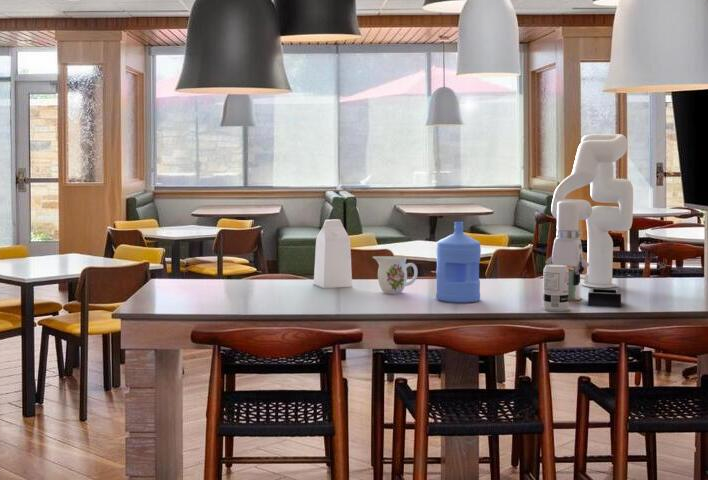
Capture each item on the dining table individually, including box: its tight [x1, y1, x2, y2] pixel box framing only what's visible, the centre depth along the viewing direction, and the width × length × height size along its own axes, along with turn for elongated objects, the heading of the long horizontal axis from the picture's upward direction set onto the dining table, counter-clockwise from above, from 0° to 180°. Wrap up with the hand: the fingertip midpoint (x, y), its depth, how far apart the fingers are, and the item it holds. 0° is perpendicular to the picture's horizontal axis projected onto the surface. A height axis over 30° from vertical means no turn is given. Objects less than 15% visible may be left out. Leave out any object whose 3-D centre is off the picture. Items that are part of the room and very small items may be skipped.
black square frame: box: [587, 287, 622, 308], centre depth 340 cm, size 11×11×5 cm
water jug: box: [435, 221, 482, 304], centre depth 348 cm, size 16×16×28 cm
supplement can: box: [542, 264, 569, 312], centre depth 328 cm, size 8×8×15 cm
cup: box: [568, 268, 577, 299], centre depth 351 cm, size 6×6×10 cm
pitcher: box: [372, 255, 419, 295], centre depth 365 cm, size 11×18×14 cm, turn 104°
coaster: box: [568, 296, 582, 302], centre depth 352 cm, size 10×10×1 cm
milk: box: [313, 219, 353, 289], centre depth 383 cm, size 12×12×26 cm
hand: (566, 283), depth 351 cm, fingers open, 6 cm apart
